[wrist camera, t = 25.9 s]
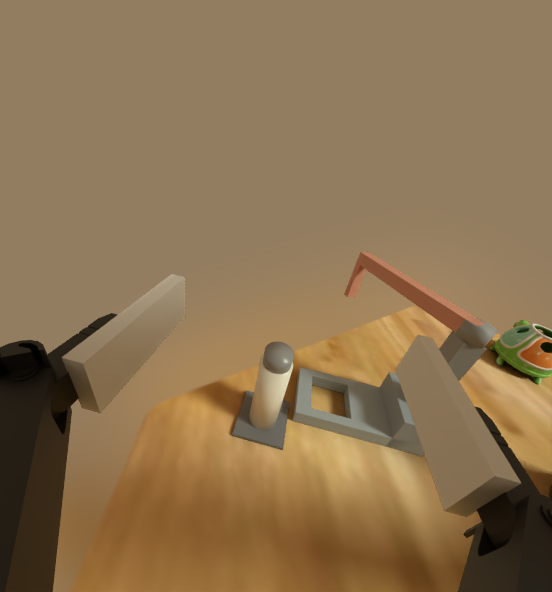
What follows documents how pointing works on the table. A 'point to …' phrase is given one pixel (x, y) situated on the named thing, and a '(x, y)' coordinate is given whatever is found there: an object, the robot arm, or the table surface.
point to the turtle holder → (526, 349)
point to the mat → (268, 437)
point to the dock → (375, 402)
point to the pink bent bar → (423, 300)
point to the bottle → (271, 385)
